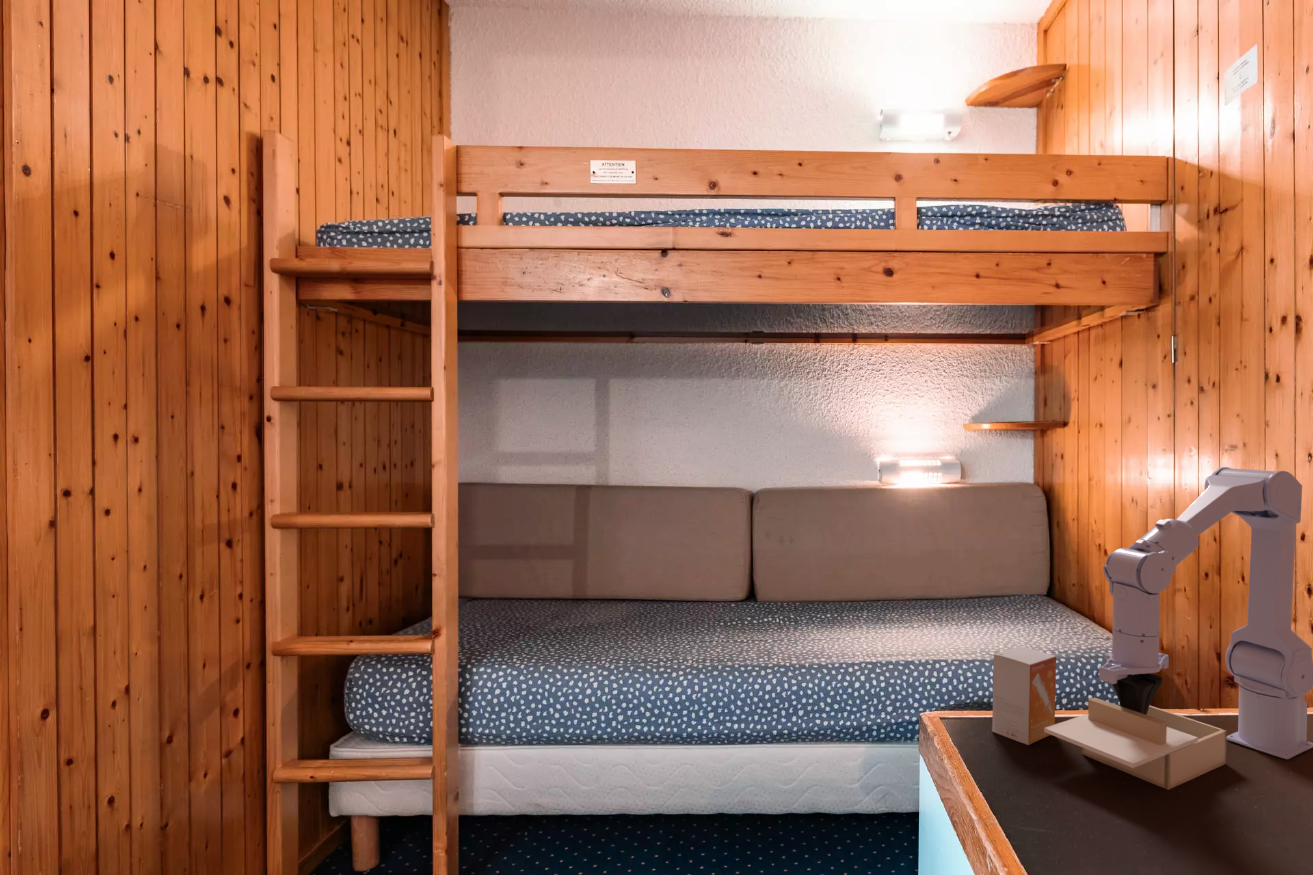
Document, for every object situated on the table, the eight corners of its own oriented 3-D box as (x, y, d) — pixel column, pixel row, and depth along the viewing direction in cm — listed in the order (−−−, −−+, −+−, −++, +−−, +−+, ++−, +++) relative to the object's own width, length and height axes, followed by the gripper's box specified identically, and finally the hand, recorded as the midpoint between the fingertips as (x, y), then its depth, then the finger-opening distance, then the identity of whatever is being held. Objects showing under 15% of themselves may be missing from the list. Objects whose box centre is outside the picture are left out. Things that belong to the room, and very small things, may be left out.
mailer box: (1140, 732, 117) (1140, 702, 117) (1226, 763, 107) (1226, 730, 107) (1081, 754, 110) (1082, 721, 110) (1168, 789, 99) (1168, 754, 99)
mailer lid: (1108, 710, 113) (1108, 687, 113) (1197, 741, 102) (1198, 716, 102) (1044, 731, 106) (1044, 707, 105) (1133, 767, 95) (1133, 741, 95)
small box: (1029, 746, 112) (1030, 664, 112) (991, 731, 118) (992, 653, 117) (1056, 734, 117) (1057, 655, 117) (1018, 720, 122) (1019, 644, 122)
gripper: (1134, 618, 112) (1132, 703, 113) (1078, 630, 105) (1077, 722, 106) (1184, 629, 106) (1182, 720, 106) (1129, 644, 99) (1127, 740, 100)
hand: (1133, 722), depth 106 cm, fingers closed
